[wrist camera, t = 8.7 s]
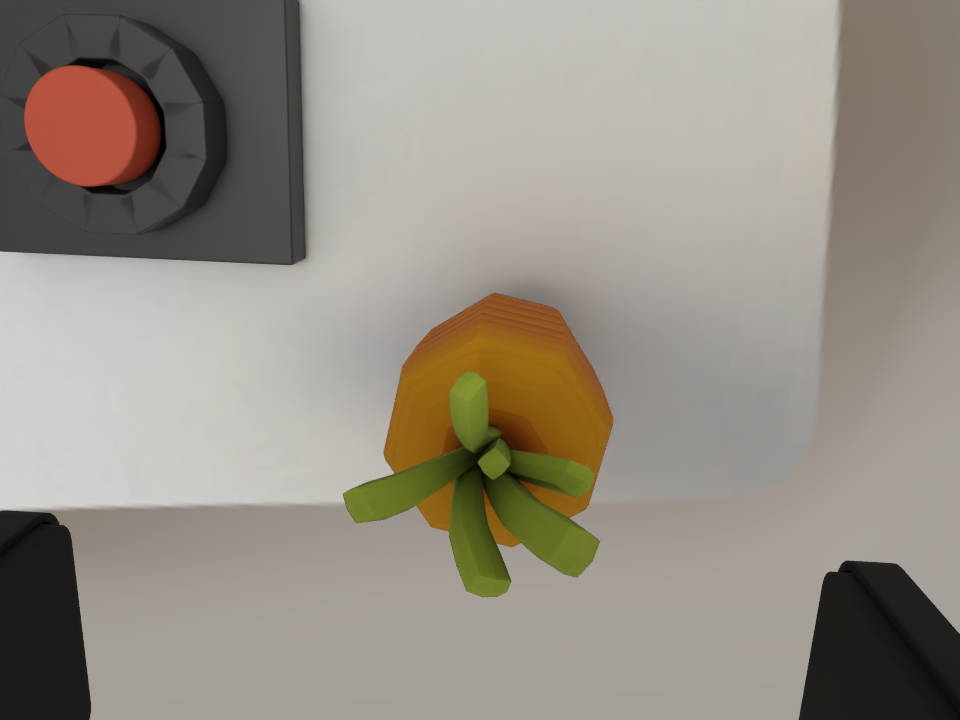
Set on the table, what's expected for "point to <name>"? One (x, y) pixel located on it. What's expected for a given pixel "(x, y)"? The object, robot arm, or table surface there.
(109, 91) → the button
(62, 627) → the robot arm
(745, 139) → the table surface
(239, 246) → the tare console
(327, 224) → the table surface
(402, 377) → the carrot
